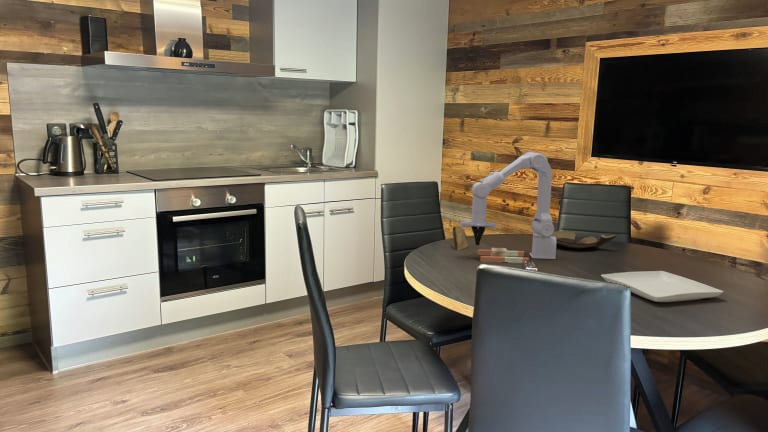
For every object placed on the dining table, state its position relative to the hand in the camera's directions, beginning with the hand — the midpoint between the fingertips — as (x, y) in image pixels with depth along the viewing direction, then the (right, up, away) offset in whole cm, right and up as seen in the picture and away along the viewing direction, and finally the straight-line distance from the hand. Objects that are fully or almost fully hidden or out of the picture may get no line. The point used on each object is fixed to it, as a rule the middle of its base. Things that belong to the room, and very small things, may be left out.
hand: (477, 244), depth 231 cm
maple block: (+9, -6, 0) cm, 11 cm away
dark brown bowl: (+49, -3, +24) cm, 55 cm away
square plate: (+55, -14, -41) cm, 70 cm away
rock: (-4, -3, +19) cm, 20 cm away
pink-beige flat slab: (+10, -6, 0) cm, 12 cm away
